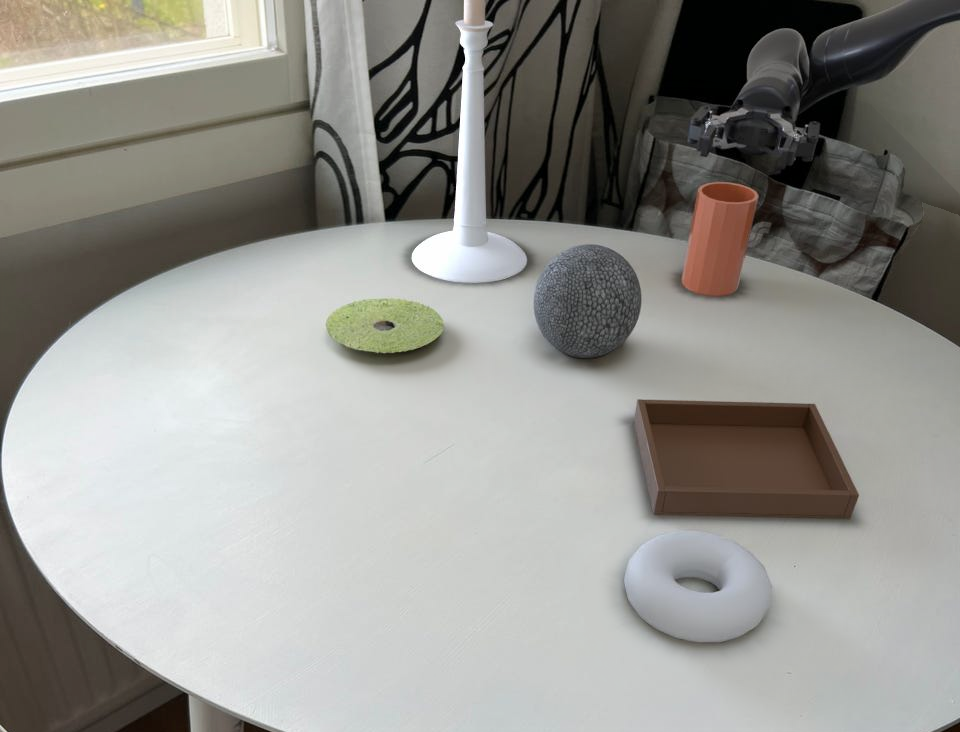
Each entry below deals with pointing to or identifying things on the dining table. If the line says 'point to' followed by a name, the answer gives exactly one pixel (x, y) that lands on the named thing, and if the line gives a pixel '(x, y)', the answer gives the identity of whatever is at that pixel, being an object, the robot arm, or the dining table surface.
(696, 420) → the tray
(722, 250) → the cup
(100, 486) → the dining table surface
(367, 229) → the dining table surface
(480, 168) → the candlestick
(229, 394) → the dining table surface
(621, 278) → the decorative ball
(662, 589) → the donut
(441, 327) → the green disc
